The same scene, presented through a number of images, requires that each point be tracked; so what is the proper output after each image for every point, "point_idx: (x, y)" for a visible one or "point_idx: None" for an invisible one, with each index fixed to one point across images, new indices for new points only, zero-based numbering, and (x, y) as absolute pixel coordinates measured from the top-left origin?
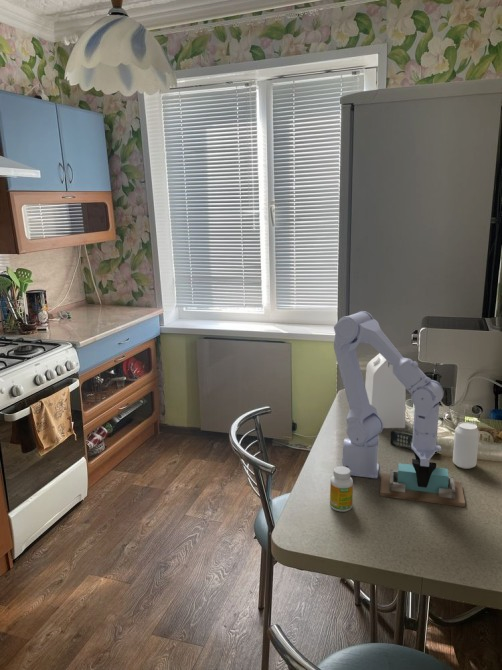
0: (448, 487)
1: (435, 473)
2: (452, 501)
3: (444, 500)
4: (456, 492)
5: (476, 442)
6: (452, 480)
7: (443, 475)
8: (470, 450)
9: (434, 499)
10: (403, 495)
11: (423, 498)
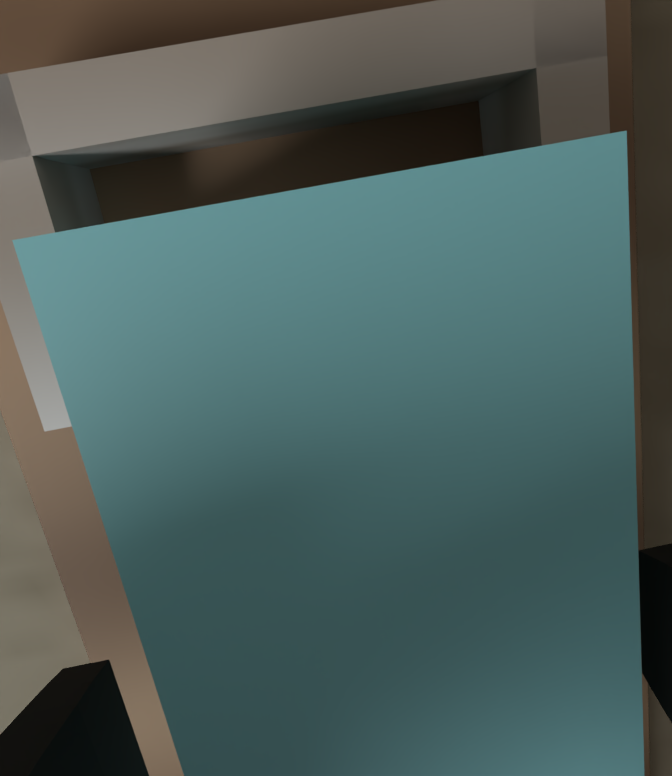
0: (178, 178)
1: (545, 556)
2: (627, 65)
3: (631, 199)
4: (300, 14)
5: None
6: (114, 87)
7: (599, 316)
8: None
9: (636, 345)
10: (645, 701)
11: (638, 484)
